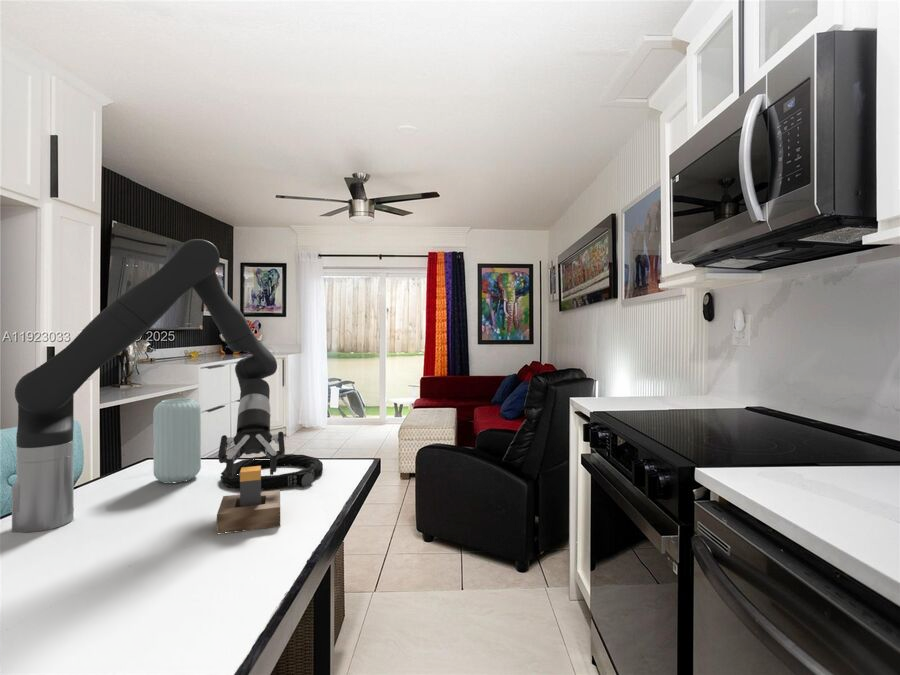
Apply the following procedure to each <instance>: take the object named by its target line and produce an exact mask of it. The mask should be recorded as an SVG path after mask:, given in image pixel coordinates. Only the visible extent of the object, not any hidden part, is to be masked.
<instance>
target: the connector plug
mask: <svg viewBox="0 0 900 675" xmlns="http://www.w3.org/2000/svg"><path fill="white" fill-rule="evenodd" d="M239 475H240V489H239V494H240V507H245V506H253V505H261V492H262V489H261V476H262V468H261V466H253V467H242V468H241V471H240V474H239Z"/></svg>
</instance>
